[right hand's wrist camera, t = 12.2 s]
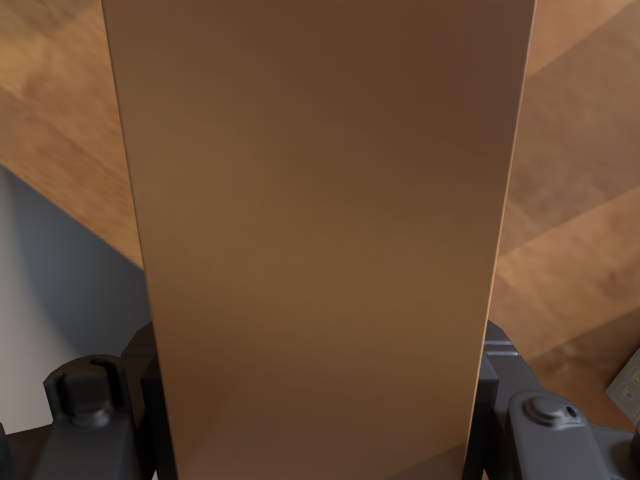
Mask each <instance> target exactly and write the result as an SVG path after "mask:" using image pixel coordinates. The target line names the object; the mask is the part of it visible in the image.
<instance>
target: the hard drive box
mask: <svg viewBox="0 0 640 480" xmlns="http://www.w3.org/2000/svg"><path fill="white" fill-rule="evenodd" d="M605 393H606V394H607V395H608V397H609V398H610V399H611V400H612V401H613V402H614V404H615V405H616V406H617V407H618V408H619V409H620V410H621V411H622V413H623V414H624V415H625V416H626V417H627V418H628V419H629V421H630V422H631V423H632V424H633V425H634V426H635V427H637V424H638V422H639V421H640V347H639V348H638V350H637V351H636V352H635V354H634V355H633V356H632V357H631V359H630V360H629V361H628V363H627V364H626V365H625V366H624V368H623V369H622V370H621V372H620V373H619V374H618V375H617V377H616V378H615V379H614V380H613V382H612V383H611V384H610V386H609V387H608V388H607V389H606V391H605Z"/></svg>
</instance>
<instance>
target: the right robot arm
mask: <svg viewBox="0 0 640 480" xmlns="http://www.w3.org/2000/svg"><path fill="white" fill-rule="evenodd" d="M43 384H44V388H45V391H46V395H47V399H48V402H49V406H50V410H51V413H52V417H53V422H52V424H49V425H46V426H42V427H39V428H34V429H30V430H25V431H21V432H17V433H12V434H8V435H6V434H5V431H4V428H3V425H2V423H0V480H152V478H153V475H154V473H155V470H156V472H157V477H158V480H177V474H176V468H175V461H174V455H173V449H172V443H171V436H170V430H169V424H168V417H167V411H166V405H165V399H164V392H163V386H162V380H161V373H160V367H159V361H158V355H157V348H156V342H155V336H154V329H153V323H152V321H151V322H150V323H148V324H147V325H145V326H144V327H142V328H141V329H140V330H138V331H137V332H136V334H135V335H134V337H133V338H132V340H131V341H130V342H129V345H128V346H127V347H126V348H125V350H124V351H123V352H122V354H121V357H119V358H118V357H115V356H111V355H107V354H101V355H89V356H85V357H81V358H77V359H75V360H72V361H70V362H68V363H66V364H63V365H62V366H60V367H59V368H57V369H56V370H54V371H53V372H52V373H50V375H49V376H48V377H47V378H46V380H45V381H44V382H43ZM484 469H485V471H486V474H487V476H488V479H489V480H640V421H639V422H638V424H637V427H636V430H635V433H632V432H627V431H623V430H619V429H614V428H610V427H605V426H601V425H597V424H594V423H590V422H588V421H587V419H586V418H585V416H584V415H583V413H582V412H581V410H580V409H579V408H578V407H576V406H575V405H574V404H573V403H571V402H570V401H569V400H567V399H565V398H563V397H561V396H559V395H557V394H555V393H551V392H548V391H545V389H544V388H543V387H542V385H541V384H540V382H539V381H538V379H537V378H536V377H535V375H534V374H533V372H532V371H531V370H530V368H529V367H528V365H527V364H526V362H525V361H524V360H523V358H522V357H521V356H519V352H518V351H517V350H516V348H515V347H514V345H511V341H510V340H509V338H508V337H507V335H506V334H505V333H504V331H503V330H502V329H501V328H499V327H498V326H497V325H495V324H494V323H492V322H491V321H489V320H488V319H487V326H486V332H485V339H484V345H483V351H482V358H481V364H480V371H479V377H478V383H477V390H476V396H475V402H474V409H473V415H472V422H471V428H470V434H469V441H468V447H467V453H466V460H465V466H464V473H463V479H462V480H482V475H483V470H484Z"/></svg>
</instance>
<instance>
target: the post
mask: <svg viewBox="0 0 640 480" xmlns="http://www.w3.org/2000/svg"><path fill="white" fill-rule="evenodd" d="M101 3H102V9H103V15H104V21H105V28H106V34H107V40H108V47H109V53H110V59H111V65H112V72H113V78H114V84H115V91H116V97H117V103H118V109H119V116H120V122H121V128H122V135H123V141H124V147H125V153H126V160H127V166H128V172H129V179H130V185H131V191H132V197H133V204H134V210H135V216H136V223H137V229H138V235H139V241H140V248H141V254H142V260H143V267H144V273H145V279H146V285H147V292H148V298H149V304H150V311H151V317H152V323H153V329H154V336H155V342H156V348H157V355H158V361H159V367H160V373H161V380H162V386H163V392H164V399H165V405H166V411H167V417H168V424H169V430H170V436H171V443H172V449H173V455H174V461H175V468H176V474H177V480H462V479H463V473H464V466H465V460H466V453H467V447H468V441H469V434H470V428H471V422H472V415H473V409H474V402H475V396H476V390H477V383H478V377H479V371H480V364H481V358H482V351H483V345H484V339H485V332H486V326H487V319H488V313H489V307H490V300H491V294H492V288H493V281H494V275H495V268H496V262H497V256H498V249H499V243H500V236H501V230H502V224H503V217H504V211H505V205H506V198H507V192H508V185H509V179H510V173H511V166H512V160H513V154H514V147H515V141H516V134H517V128H518V122H519V115H520V109H521V102H522V96H523V90H524V83H525V77H526V71H527V64H528V58H529V51H530V45H531V39H532V32H533V26H534V19H535V13H536V7H537V0H101Z"/></svg>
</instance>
